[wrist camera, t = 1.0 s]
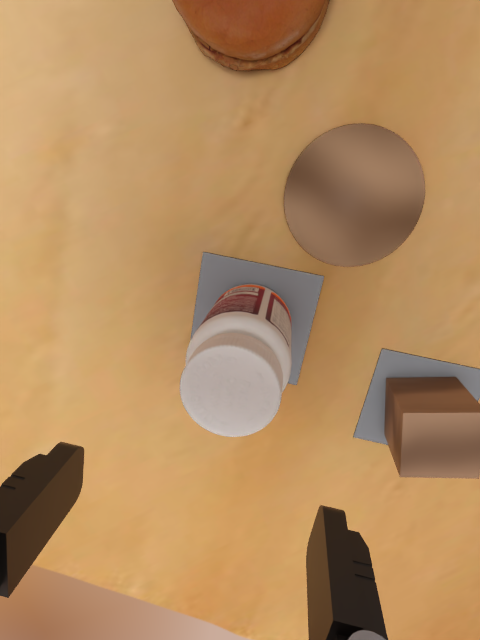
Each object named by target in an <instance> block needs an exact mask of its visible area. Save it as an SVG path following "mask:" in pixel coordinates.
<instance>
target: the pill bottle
mask: <svg viewBox="0 0 480 640" xmlns="http://www.w3.org/2000/svg"><path fill="white" fill-rule="evenodd" d="M291 326H292V324H291V317H290V313H289V310H288V307H287V306H286V304H285V302H284V301H283V300H282V298H281V297H280V296H279V295H277V294H276V293H275V292H274V291H272V290H270V289H269V288H266V287H264V286H260V285H256V284H244V285H239V286H236V287H233V288H231V289H230V290H228V291H226V292H225V293H224V294H223V295H222V296H221V297H220V298H219V299H218V300H217V301H216V303H215V304H214V306H213V307H212V309H211V310H210V311H209V313H208V315H207V316H206V317H205V319H204V321H203V322H202V323H201V325H200V326H199V328H198V329H197V331H196V332H195V333H194V335H193V337H192V339H191V341H190V343H189V346H188V349H187V353H186V366H185V368H184V370H183V372H182V375H181V380H180V395H181V400H182V403H183V405H184V407H185V409H186V411H187V412H188V414H189V415H190V416H191V418H192V419H193V420H194V421H195V422H196V423H197V424H199V425H200V426H201V427H203V428H204V429H206V430H208V431H210V432H212V433H215V434H218V435H222V436H227V437H240V436H246V435H250V434H253V433H255V432H257V431H259V430H261V429H263V428H264V427H265V426H267V425H268V424H269V423H270V422H271V421H272V419H273V418H274V416H275V415H276V413H277V411H278V409H279V406H280V402H281V396H282V392H283V391H284V389H285V387H286V385H287V383H288V380H289V377H290V372H291V364H292V360H291V330H292V329H291Z"/></svg>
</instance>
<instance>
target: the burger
mask: <svg viewBox="0 0 480 640" xmlns="http://www.w3.org/2000/svg"><path fill="white" fill-rule="evenodd" d="M173 2H174V5H175V7H176V9H177V10H178V12H179V13H180V15H181V16H182V17H183V19H184V21H185V22H186V24H187V26H188V28H189V30H190V32H191V34H192V36H193V37H194V39H195V42H196V44H197V45H198V46H199V49H200V50H201V52H202V53H203V54H204V55H205V56H208V57H210V58H212V59H213V60H215V61H216V62H218V63H220V64H222V65H223V66H229V67H230V68H231V69H234V70H236V71H237V70H252V69H271V70H273V69H278V68H281V67H284V66H286V65H288V64H289V63H290V62H292V61H293V60H294V59H295V58H296V57H298V56H299V55H300V54H301V53H302V52H303V51H304V50H305V48H306V47H307V46H308V45H309V43H310V42H311V41H312V40H313V38H314V37H315V35H316V34H317V32H318V30H319V28H320V26H321V23H322V21H323V18H324V16H325V14H326V10H327V6H328V3H329V0H173Z"/></svg>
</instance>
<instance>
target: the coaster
mask: <svg viewBox="0 0 480 640" xmlns="http://www.w3.org/2000/svg"><path fill="white" fill-rule="evenodd" d="M424 197H425V181H424V174H423V170H422V167H421V164H420V162H419V160H418V157H417V156H416V154H415V152H414V151H413V149H412V148H411V147H410V146H409V145H408V143H407V142H406V141H405V140H403V139H402V138H401V137H400V136H399V135H397V134H395V133H394V132H392V131H390V130H388V129H386V128H383V127H380V126H376V125H372V124H350V125H345V126H341V127H338V128H335V129H332V130H330V131H328V132H326V133H324V134H323V135H321V136H320V137H318V138H317V139H315V140H314V141H313V142H312V143H311V144H309V145H308V146H307V147H306V149H305V150H304V151H303V152H302V153H301V154H300V156H299V157H298V159H297V160H296V162H295V163H294V165H293V167H292V169H291V171H290V174H289V176H288V180H287V183H286V187H285V195H284V208H285V215H286V219H287V223H288V225H289V228H290V231H291V232H292V234H293V236H294V238H295V239H296V241H297V242H298V243H299V245H300V246H301V247H302V248H303V249H304V250H305V251H306V252H308V253H309V254H310V255H312V256H313V257H315V258H317V259H318V260H320V261H323V262H325V263H328V264H331V265H335V266H343V267H354V266H362V265H366V264H370V263H373V262H375V261H378V260H380V259H382V258H384V257H386V256H387V255H389V254H390V253H392V252H393V251H394V250H396V249H397V248H398V247H399V246H400V245H401V244H402V243H403V242H404V241H405V240H406V239H407V238H408V236H409V235H410V234H411V232H412V231H413V229H414V227H415V226H416V224H417V222H418V220H419V217H420V214H421V212H422V208H423V204H424Z"/></svg>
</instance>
